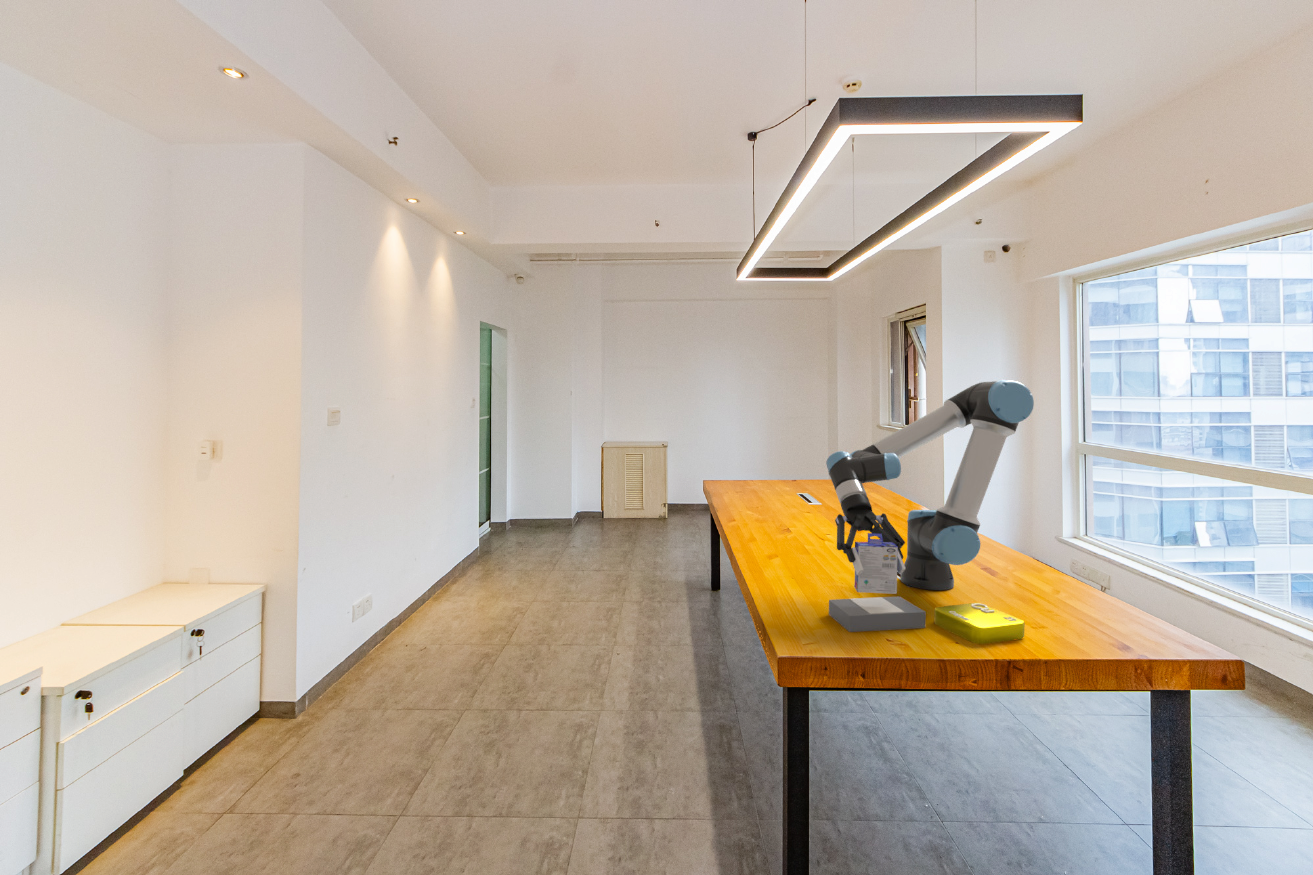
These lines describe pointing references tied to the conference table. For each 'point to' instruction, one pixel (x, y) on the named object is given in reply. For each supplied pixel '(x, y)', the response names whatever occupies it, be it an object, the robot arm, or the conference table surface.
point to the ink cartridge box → (877, 566)
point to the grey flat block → (876, 614)
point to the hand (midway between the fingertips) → (881, 572)
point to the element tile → (979, 623)
